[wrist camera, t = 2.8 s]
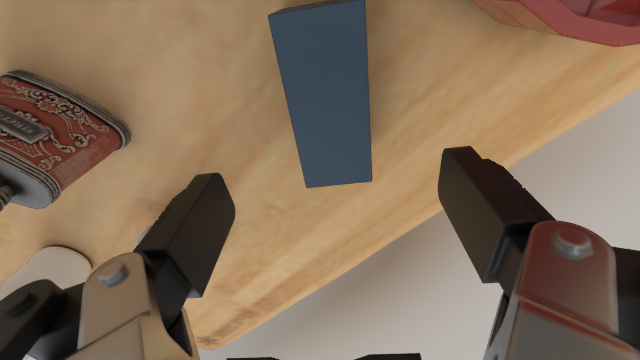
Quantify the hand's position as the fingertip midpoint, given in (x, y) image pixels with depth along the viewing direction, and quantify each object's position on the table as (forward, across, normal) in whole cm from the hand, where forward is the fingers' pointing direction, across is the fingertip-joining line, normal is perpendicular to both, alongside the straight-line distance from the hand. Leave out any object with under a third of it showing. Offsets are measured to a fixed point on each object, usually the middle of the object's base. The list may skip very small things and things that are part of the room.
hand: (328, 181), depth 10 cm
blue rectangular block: (+10, 0, 0) cm, 11 cm away
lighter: (+11, +19, -1) cm, 22 cm away
